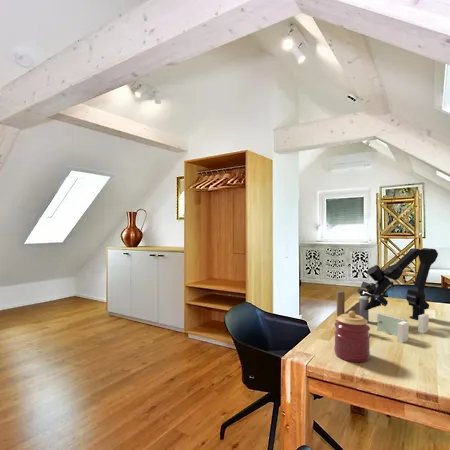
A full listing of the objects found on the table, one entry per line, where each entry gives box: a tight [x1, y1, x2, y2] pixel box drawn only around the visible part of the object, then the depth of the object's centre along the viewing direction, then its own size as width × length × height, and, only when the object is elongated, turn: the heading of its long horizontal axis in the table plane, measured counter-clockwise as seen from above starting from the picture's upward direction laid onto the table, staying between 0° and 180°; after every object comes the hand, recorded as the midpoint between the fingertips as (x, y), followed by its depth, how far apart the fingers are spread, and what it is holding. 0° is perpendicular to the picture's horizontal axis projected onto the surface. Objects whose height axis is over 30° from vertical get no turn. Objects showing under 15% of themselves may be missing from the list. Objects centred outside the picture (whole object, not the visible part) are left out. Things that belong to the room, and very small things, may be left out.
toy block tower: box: [334, 290, 360, 328], centre depth 150 cm, size 4×11×18 cm, turn 46°
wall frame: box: [397, 313, 430, 344], centre depth 141 cm, size 26×2×8 cm, turn 125°
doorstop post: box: [358, 296, 370, 323], centre depth 162 cm, size 4×4×13 cm
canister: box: [333, 311, 371, 363], centre depth 120 cm, size 13×13×18 cm
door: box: [376, 313, 408, 337], centre depth 143 cm, size 14×3×8 cm, turn 33°
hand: (361, 308), depth 162 cm, fingers open, 6 cm apart
